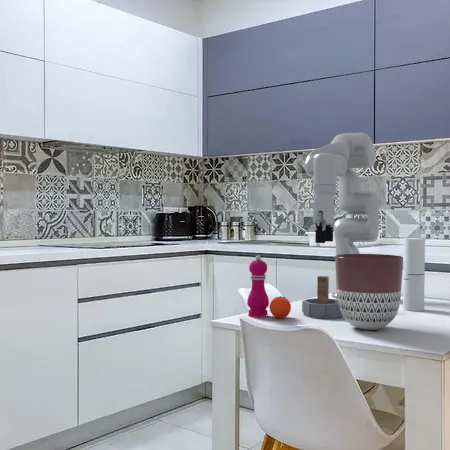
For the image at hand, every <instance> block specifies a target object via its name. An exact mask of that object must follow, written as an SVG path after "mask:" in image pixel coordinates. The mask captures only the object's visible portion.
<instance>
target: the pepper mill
mask: <svg viewBox="0 0 450 450" xmlns="http://www.w3.org/2000/svg"><path fill="white" fill-rule="evenodd" d="M248 271H249V272H250V273H251V274H250V280H251V290H250V291H249V295H248V296H247V297H248V298H247V300H246V301H247V302H246V304H247V306H248V308H249V309H248V316H249V317H250V318H251V317H252V318H263V317H262V316H266V315H267V316H268V310H267V308H268V307H269V306H270V299H269V296H268V294H267V291H266V288H265V280H266V277H267V275H266V273H267V271H268V265H267V263H266V262H265V261H264V260H262V257H261V255H256V256H255V260H252V261H251V262H250V264H249V266H248ZM267 316H266V317H267Z"/></svg>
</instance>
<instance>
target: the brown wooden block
mask: <svg viewBox="0 0 450 450" xmlns="http://www.w3.org/2000/svg"><path fill="white" fill-rule="evenodd" d="M329 277H330V276H328V275H318V276H317V280H316V281H317V284H316V285H317V286H316V287H317V289H316V293H317V296H316V298H317V304H328V302H329V299H330V298H329V292H330V291H329V288H330V287H329V286H330V284H329V281H330V279H329Z"/></svg>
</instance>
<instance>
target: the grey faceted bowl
mask: <svg viewBox="0 0 450 450" xmlns="http://www.w3.org/2000/svg"><path fill="white" fill-rule="evenodd" d="M301 307H302V308H301V313H303V316H305V315H306V316H305V317H308V316H309V317H308V318H313V317H315V318H314V319H337V318H339V319H340V318H341V317H343V316H342V314H341V312H340V309H339V306H338V301H337V298H336V299H335V298H329V302H328V304H317V297H316V298H305V299H303V300H302V301H301Z"/></svg>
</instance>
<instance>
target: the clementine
mask: <svg viewBox="0 0 450 450" xmlns="http://www.w3.org/2000/svg"><path fill="white" fill-rule="evenodd" d="M291 310H292V305H291V302H290V300H289V299H287V297H286V296H281V295H280V296H276V297H275V298H273V299H272V300H271V302H269V312H270V313H271V315H272V316H273V317H275V318H277V319H284V318H286V317H287V316H289V314H290V313H291Z"/></svg>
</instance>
